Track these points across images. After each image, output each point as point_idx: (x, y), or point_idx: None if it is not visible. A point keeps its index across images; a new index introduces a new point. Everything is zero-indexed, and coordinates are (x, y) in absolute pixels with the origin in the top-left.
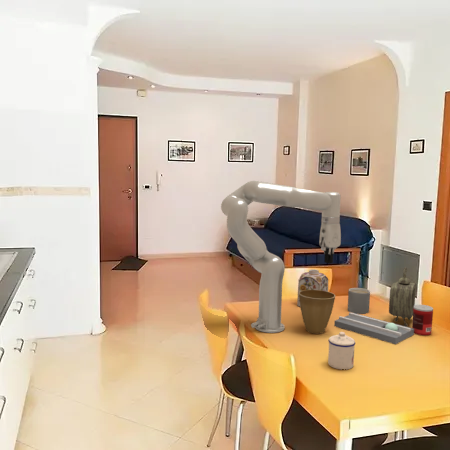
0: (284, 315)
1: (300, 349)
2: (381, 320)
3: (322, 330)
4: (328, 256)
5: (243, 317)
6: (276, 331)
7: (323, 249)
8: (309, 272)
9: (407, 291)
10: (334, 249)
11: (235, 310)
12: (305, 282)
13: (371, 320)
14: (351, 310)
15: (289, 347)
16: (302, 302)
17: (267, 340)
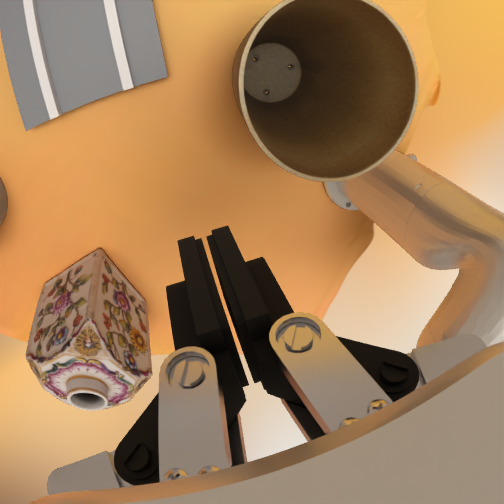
0: (244, 241)
1: (402, 11)
2: (1, 20)
3: (275, 37)
4: (286, 299)
5: (346, 263)
6: None
7: (477, 344)
8: (107, 395)
9: None
10: (129, 441)
11: (322, 310)
12: (133, 354)
13: (37, 20)
14: (2, 192)
15: (412, 38)
16: (390, 102)
17: (418, 103)
